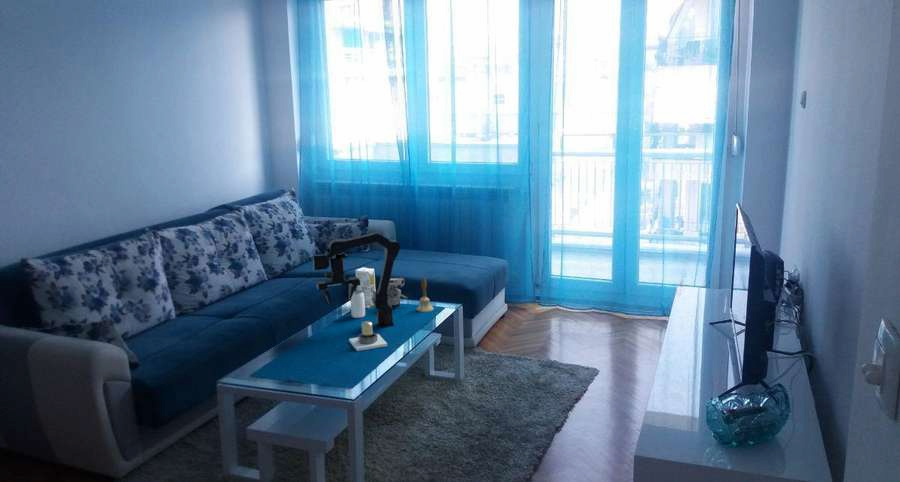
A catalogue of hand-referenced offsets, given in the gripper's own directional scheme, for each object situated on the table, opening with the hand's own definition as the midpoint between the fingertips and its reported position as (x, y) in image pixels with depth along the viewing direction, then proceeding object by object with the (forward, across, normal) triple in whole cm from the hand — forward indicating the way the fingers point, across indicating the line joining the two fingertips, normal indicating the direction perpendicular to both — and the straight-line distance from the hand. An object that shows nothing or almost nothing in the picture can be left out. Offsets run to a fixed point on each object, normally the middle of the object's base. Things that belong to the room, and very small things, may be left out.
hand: (339, 302), depth 308 cm
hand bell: (+13, -44, -11) cm, 47 cm away
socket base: (+13, -6, +23) cm, 27 cm away
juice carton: (+13, -20, -30) cm, 38 cm away
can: (+13, -12, -16) cm, 24 cm away
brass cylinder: (+12, -6, +23) cm, 27 cm away
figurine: (+13, -32, -20) cm, 40 cm away
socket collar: (+12, -6, +23) cm, 27 cm away
